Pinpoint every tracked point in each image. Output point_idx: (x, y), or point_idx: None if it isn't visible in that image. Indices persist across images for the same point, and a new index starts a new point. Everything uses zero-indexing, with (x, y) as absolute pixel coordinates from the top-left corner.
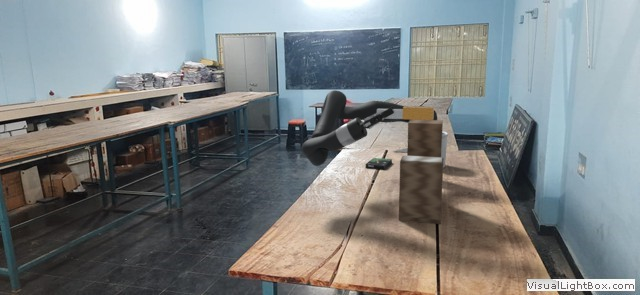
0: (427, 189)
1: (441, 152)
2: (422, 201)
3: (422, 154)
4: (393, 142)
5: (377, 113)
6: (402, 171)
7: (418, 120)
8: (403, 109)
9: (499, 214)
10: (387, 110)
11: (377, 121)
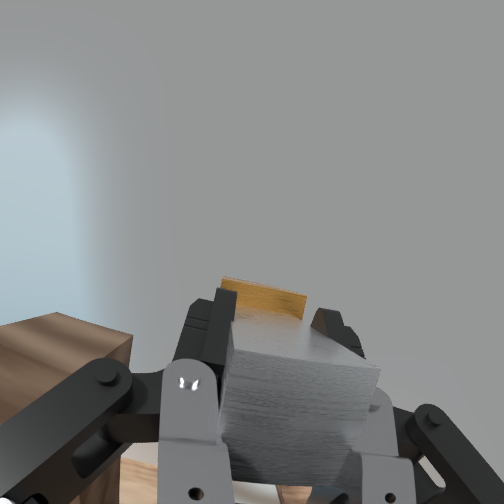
0: None
1: None
2: None
3: (101, 477)
4: None
5: (357, 420)
6: None
7: (18, 331)
8: (302, 308)
9: (149, 476)
10: (342, 341)
11: (426, 473)
